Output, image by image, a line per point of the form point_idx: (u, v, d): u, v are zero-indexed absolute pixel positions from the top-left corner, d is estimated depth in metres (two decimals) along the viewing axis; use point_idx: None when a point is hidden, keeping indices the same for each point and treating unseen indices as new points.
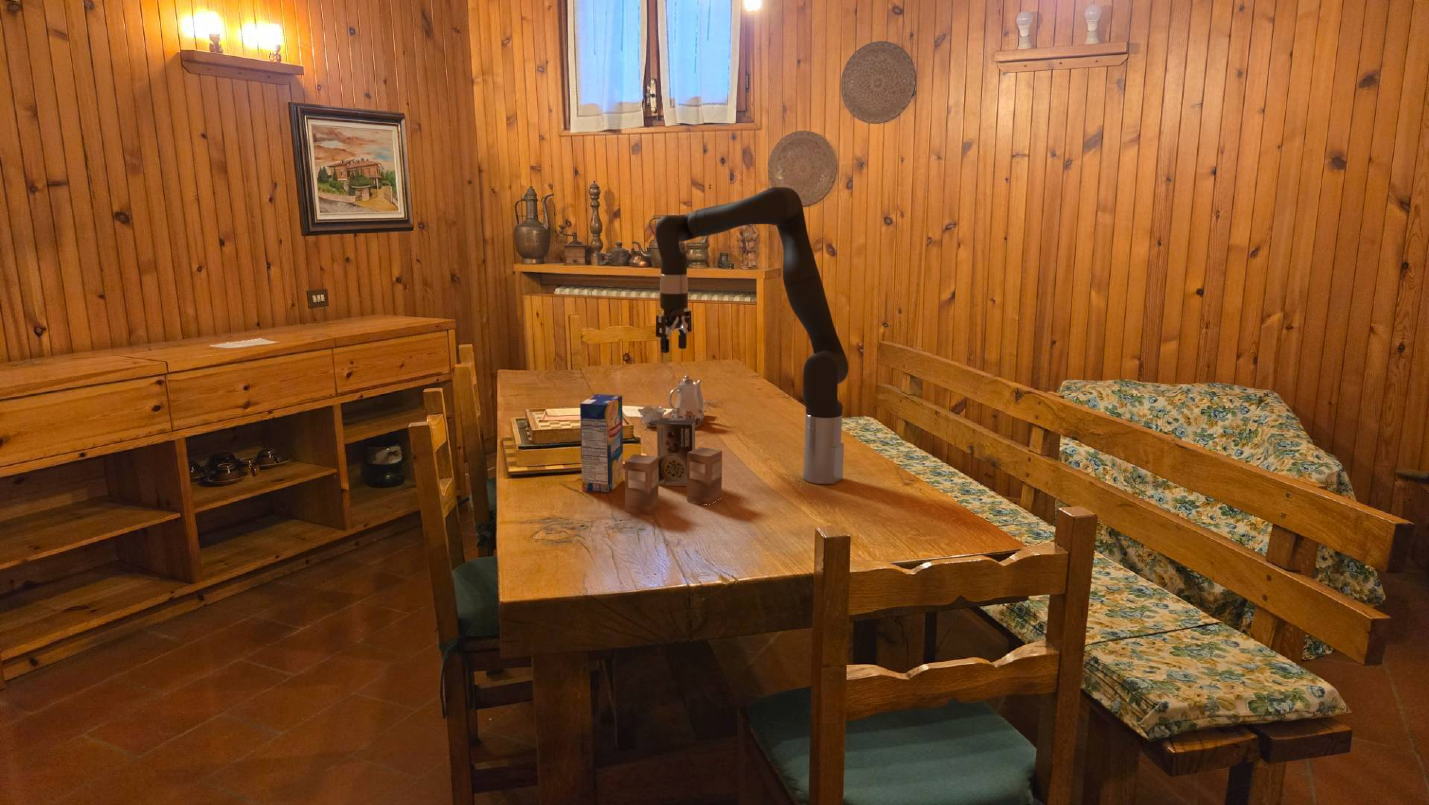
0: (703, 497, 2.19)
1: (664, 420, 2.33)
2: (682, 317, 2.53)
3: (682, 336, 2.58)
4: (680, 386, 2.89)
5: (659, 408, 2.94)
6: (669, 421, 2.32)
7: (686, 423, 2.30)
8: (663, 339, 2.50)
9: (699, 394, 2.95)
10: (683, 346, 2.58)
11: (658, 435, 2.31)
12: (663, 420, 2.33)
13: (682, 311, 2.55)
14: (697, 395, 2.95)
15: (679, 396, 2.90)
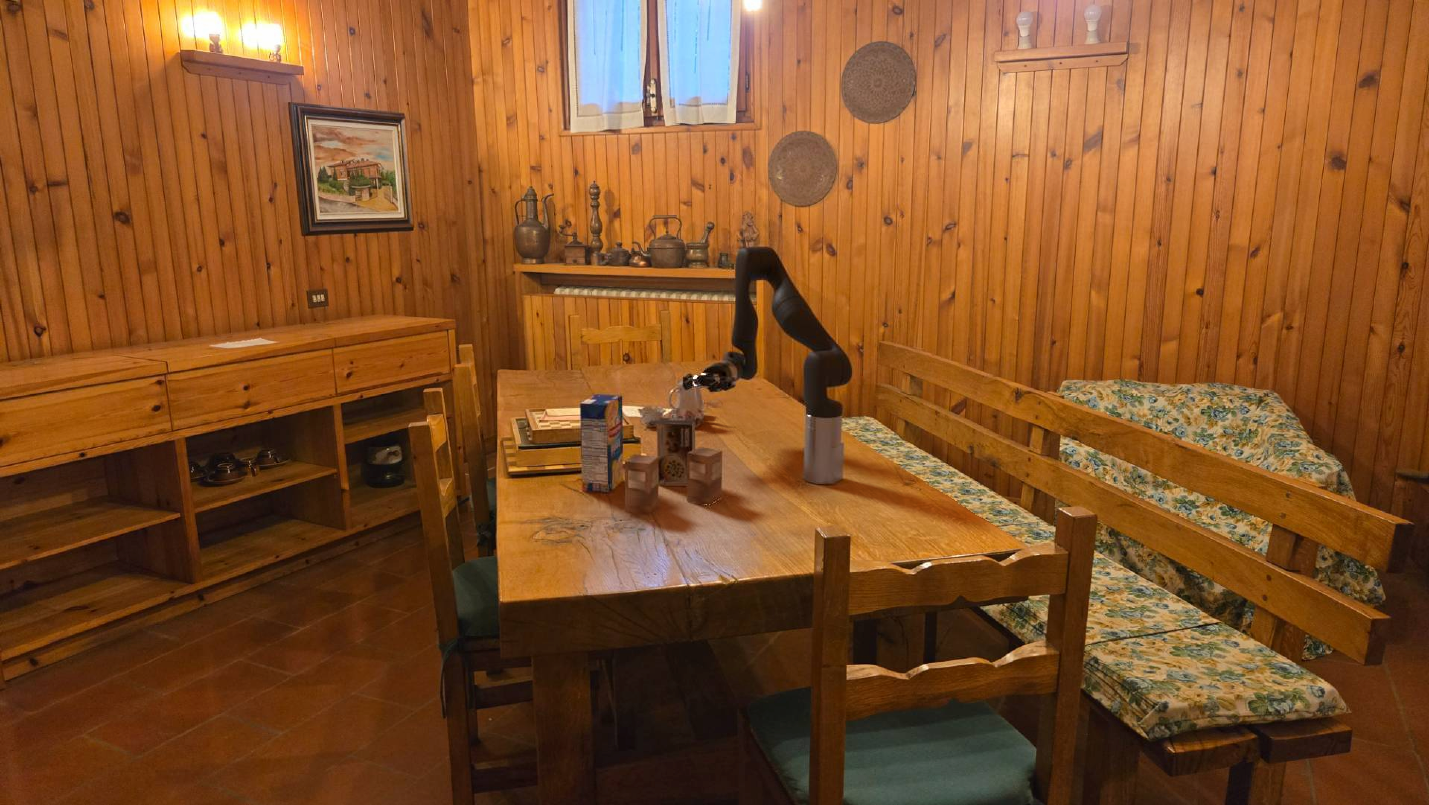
0: (703, 497, 2.19)
1: (664, 420, 2.33)
2: (715, 373, 2.51)
3: None
4: (680, 386, 2.89)
5: (659, 408, 2.94)
6: (669, 421, 2.32)
7: (686, 423, 2.30)
8: None
9: (699, 394, 2.95)
10: None
11: (658, 435, 2.31)
12: (663, 420, 2.33)
13: (722, 376, 2.52)
14: (697, 395, 2.96)
15: (679, 395, 2.90)
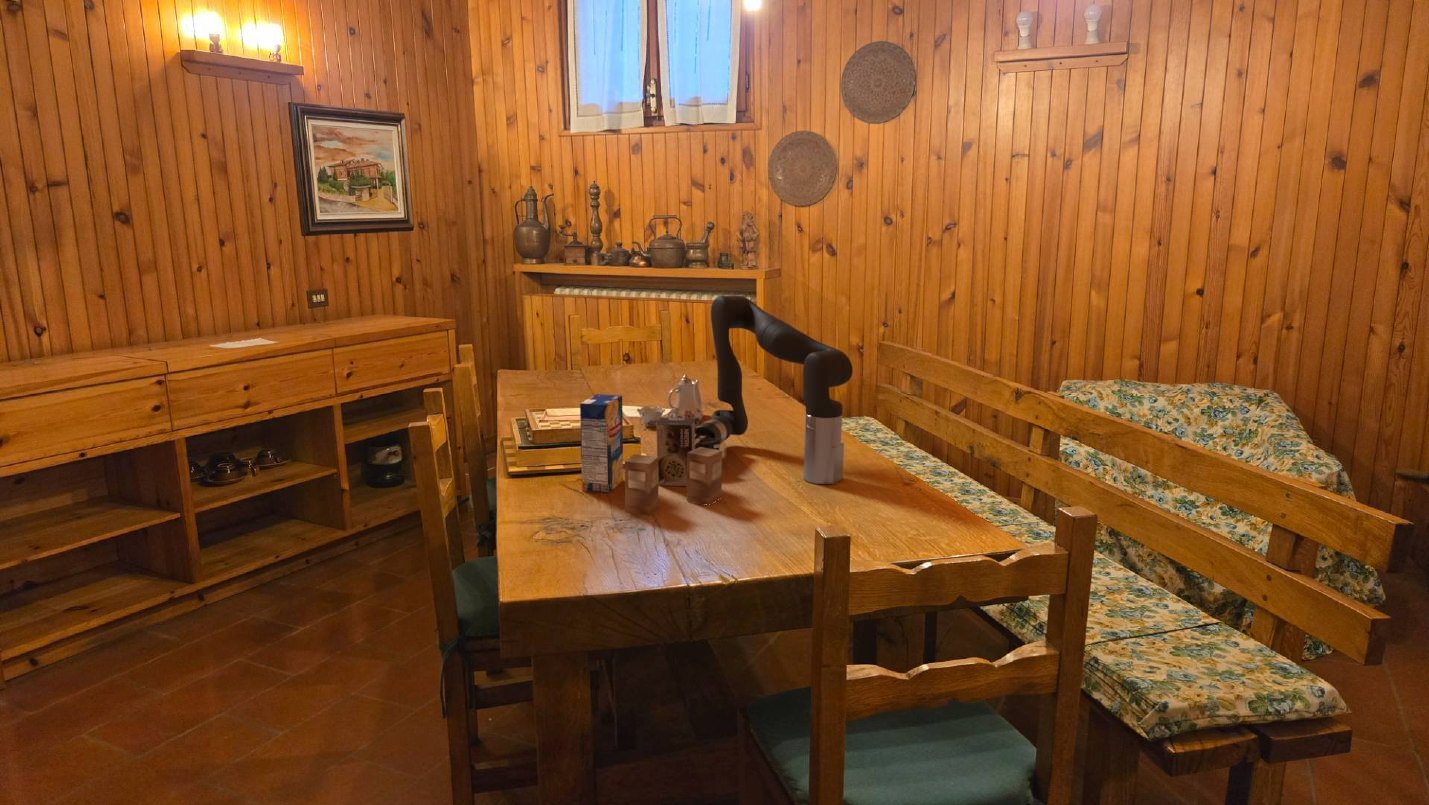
0: (703, 497, 2.19)
1: (664, 420, 2.32)
2: (703, 435, 2.46)
3: None
4: (679, 386, 2.89)
5: (657, 408, 2.94)
6: (669, 421, 2.31)
7: (686, 424, 2.29)
8: None
9: (697, 394, 2.96)
10: None
11: (658, 435, 2.30)
12: (663, 420, 2.32)
13: (712, 437, 2.47)
14: (695, 395, 2.96)
15: (678, 395, 2.91)
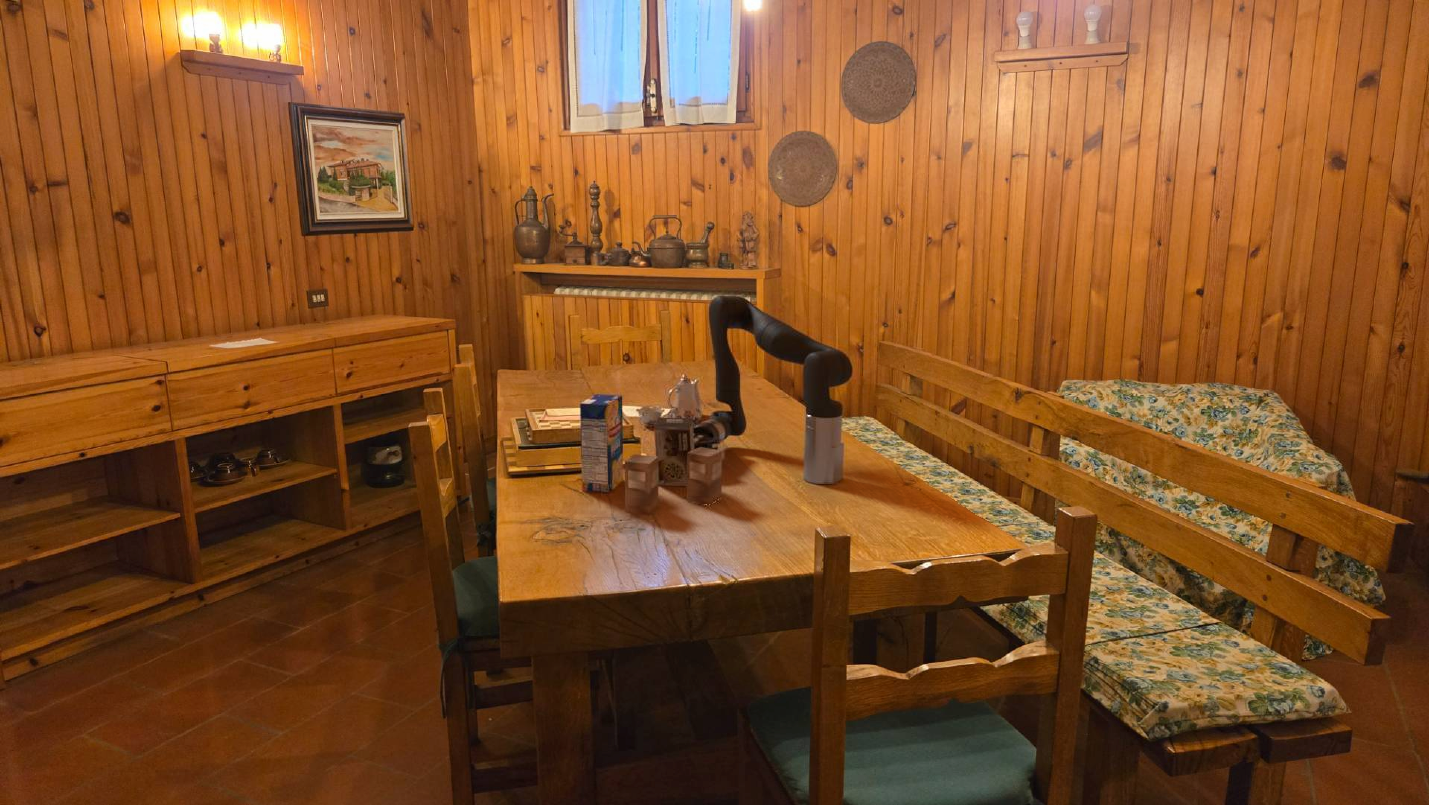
0: (703, 497, 2.19)
1: (661, 423, 2.29)
2: (702, 434, 2.44)
3: None
4: (678, 386, 2.89)
5: (657, 408, 2.95)
6: (666, 424, 2.28)
7: (684, 428, 2.26)
8: None
9: (696, 393, 2.96)
10: None
11: (656, 440, 2.28)
12: (660, 423, 2.29)
13: (711, 437, 2.45)
14: (694, 394, 2.96)
15: (677, 395, 2.91)
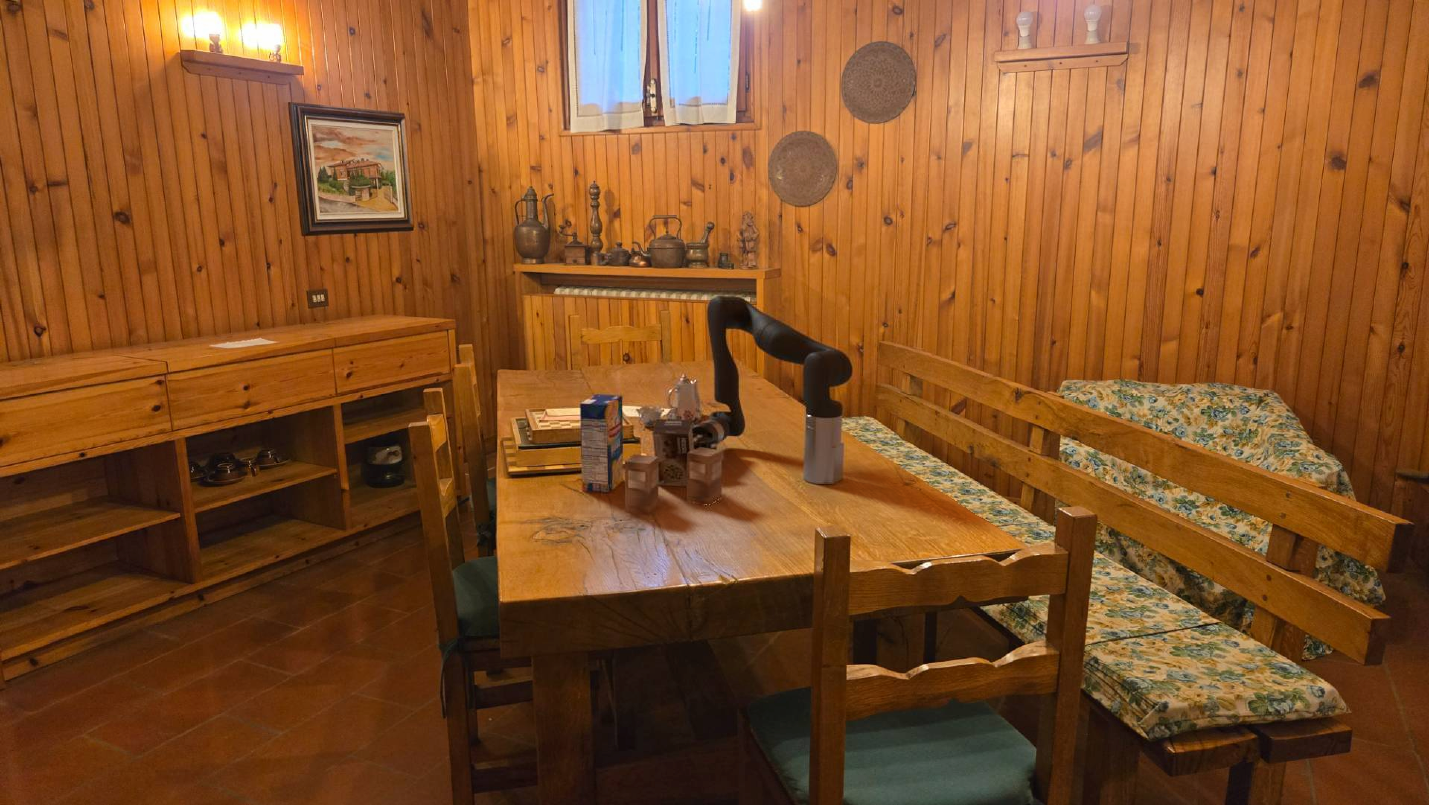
0: (703, 497, 2.19)
1: (660, 425, 2.27)
2: (701, 434, 2.44)
3: None
4: (678, 386, 2.89)
5: (656, 408, 2.95)
6: (665, 427, 2.27)
7: (682, 432, 2.25)
8: None
9: (696, 393, 2.96)
10: None
11: (654, 443, 2.27)
12: (659, 425, 2.27)
13: (710, 437, 2.45)
14: (694, 394, 2.96)
15: (677, 395, 2.91)
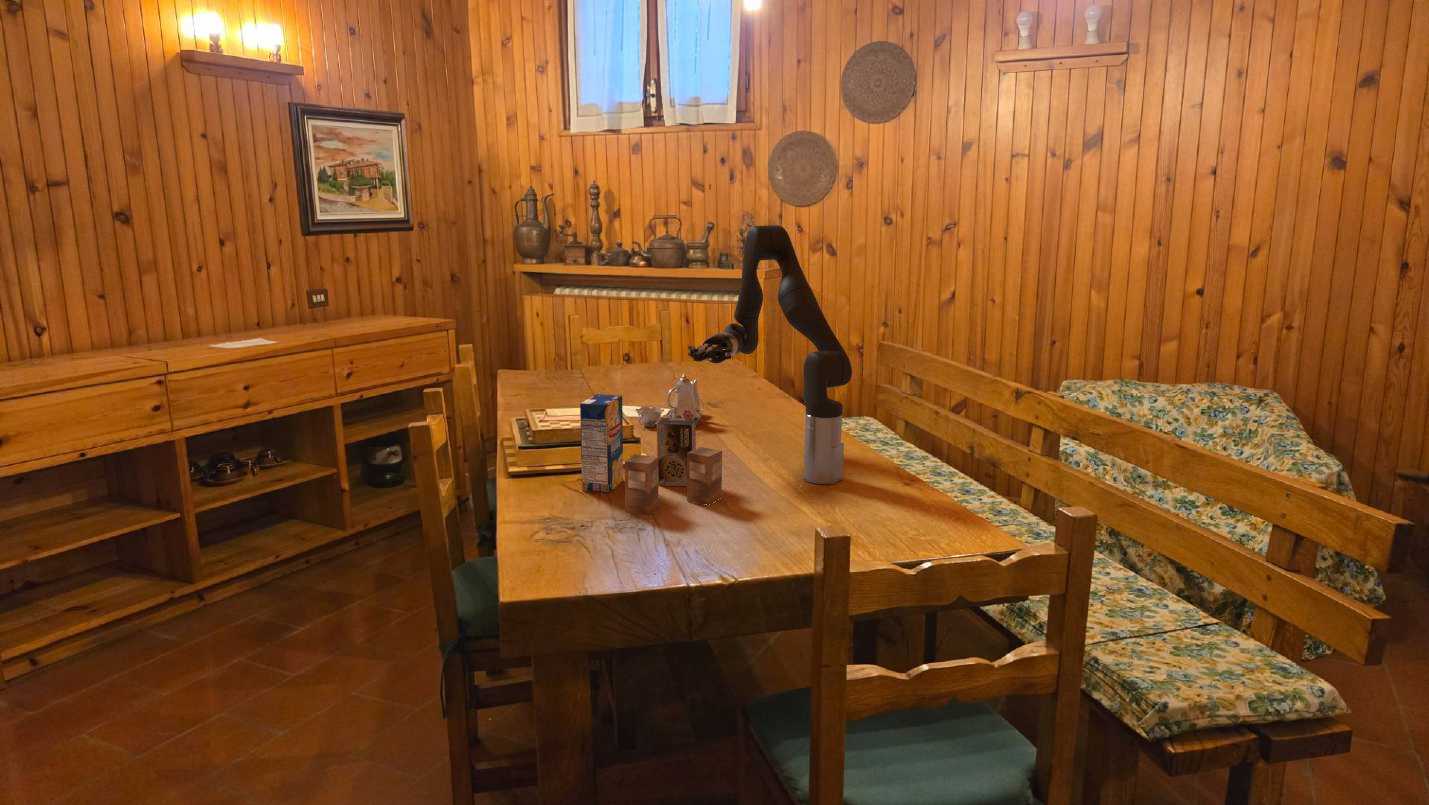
0: (703, 497, 2.19)
1: (664, 420, 2.33)
2: (716, 344, 2.49)
3: None
4: (678, 386, 2.89)
5: (656, 408, 2.95)
6: (669, 421, 2.32)
7: (686, 424, 2.30)
8: None
9: (696, 393, 2.96)
10: None
11: (658, 435, 2.31)
12: (663, 420, 2.33)
13: (725, 347, 2.50)
14: (694, 394, 2.96)
15: (676, 395, 2.91)
